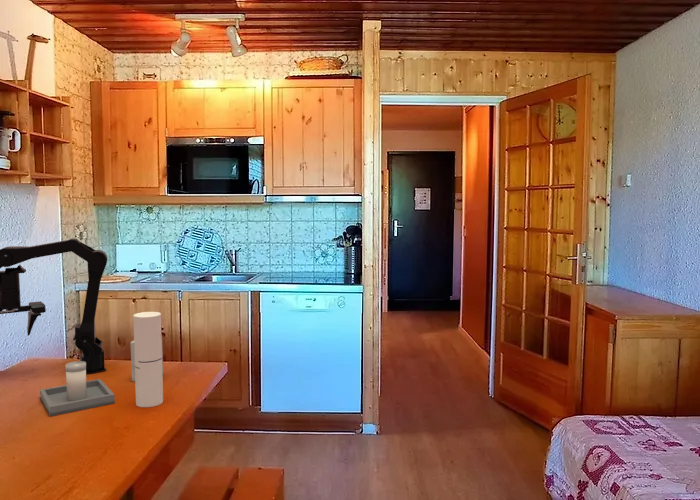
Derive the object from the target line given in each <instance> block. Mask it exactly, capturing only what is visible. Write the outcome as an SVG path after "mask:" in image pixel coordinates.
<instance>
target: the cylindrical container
mask: <svg viewBox="0 0 700 500" xmlns="http://www.w3.org/2000/svg"><path fill="white" fill-rule="evenodd" d="M132 319H133V320H132V321H133V341H134V354H135V381H134V383H135V387H134V388H135V405H136V406H137V407H139V408H152V407H156V406H160V405H162V404H163V403H164V389H163V388H164V385H163V384H164V383H163V379H164V378H163V375H162V351H163V337H162V313H161V312H159V311H142V312H138V313H134V314H133V318H132Z"/></svg>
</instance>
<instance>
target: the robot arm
mask: <svg viewBox="0 0 700 500" xmlns="http://www.w3.org/2000/svg"><path fill="white" fill-rule="evenodd" d="M71 252H72V253H73V254H75V255H76V256H78V257H79V258H81V259H82V260H84V261H86V262H87V275H88V281H87V289H86V295H85V300H84V307H83V313H82V319H81V323H75V324H76V325H75V326H74V336H73V338H72V340H73V341H74V344H75V347H77V349H79V350H81V356H80V357H79V361H84V362H86V375H88V374H94V373H100V372H105V371H107V368H105V351H104V350H103V341H102V340H101V339H100V338H98V337H97V336H96V335H97V334H96V322H95V320H96V319H95V318H96V313H97V306H98V301H99V300H98V299H99V292H100V287H101V280H102V278H103V274H104V272H105V269H106V266H107V264H108V257H109V256H108V254H107V253H106V252H105V251H103V250H100V249H95V248H93V247H91V246H89V245H87V244H85V243H84V242H81V241H80V240H79V239H77V238H75V237H74V238H73V237H72V238H70V239H67V240H60V241H55V242H54V241H53V242H49V243H48V242H47V243H43V244H36V245H31V246H24V245H23V246H22V245H20V246H19V245H18V246H15V245H14V246H13V245H12V246H6V247H3V248H0V269H1V268H5V269H4V270H0V315H4V314H13V313H14V314H17V313H22V312H23V313H25V312H27V327H26V328H27V329H26V333H27V336H30V335H31V333H32V330H33V326H34V324H35V322H36V320H37V318H38V317H40V316H42V314H43V313H46V311H47V309H46V304H45V303H43V302H42V301H33V302H31V301H30V302H28V305H22V304H21V303H22V302H21V288H20V287H21V286H20V284H21V283H20V282H21V281H20V274H25V273H26V272H27V269H26V268H24V267H23V266H22V265H21V264H22V263H24V262H26V261H28V260H31V259H37V258H43V257H47V256H48V257H49V256H54V255H58V254H59V255H60V254H65V253H71ZM15 265H17V266H16V267H12V266H15Z"/></svg>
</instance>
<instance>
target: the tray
mask: <svg viewBox="0 0 700 500" xmlns="http://www.w3.org/2000/svg"><path fill="white" fill-rule="evenodd" d="M86 386H87V397H86V398H85V399H82V400H77V401H68V400H67V385H66V384H64V385H58V386H53V387H46V388H42V389H39V395H40V396H39V397H40V398H39V399H40V400H41V402H42V404H43V406H44V407H45V410H46V411H47V413H48V415H49V417H54V416H60V415H65V414H69V413H74V412H79V411H84V410H88V409H94V408H98V407H102V406H109V405H113V404H115V402H116V401H115V397H116V396H115V393H114V392H113V391H112V390H111V389H110V388H109V386H107V384H106V383H105V382H104V381H103V380H102V379H101V378H99V379H92V380H86Z"/></svg>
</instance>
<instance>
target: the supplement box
mask: <svg viewBox="0 0 700 500" xmlns="http://www.w3.org/2000/svg"><path fill="white" fill-rule="evenodd" d="M129 343H130V345H129V346H130V362H131V365H130V366H131V381H132V382H135V354H134V340H132V341H130V342H129ZM163 351H164V350H162V376H164V356H163V355H164V354H163Z"/></svg>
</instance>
